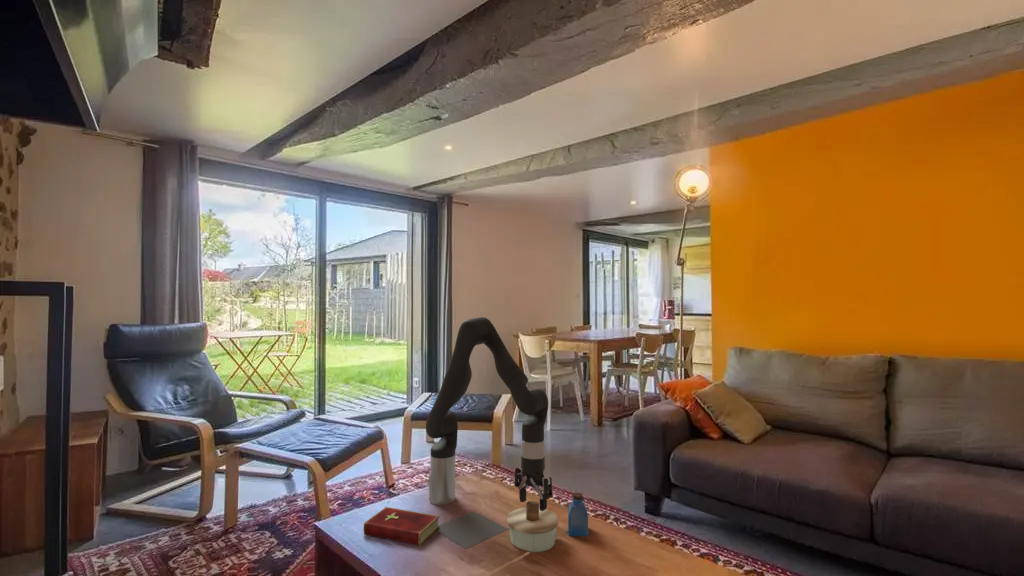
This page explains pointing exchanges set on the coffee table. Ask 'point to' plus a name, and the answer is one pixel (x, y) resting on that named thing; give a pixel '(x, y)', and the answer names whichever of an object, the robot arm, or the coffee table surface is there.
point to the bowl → (533, 540)
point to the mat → (470, 529)
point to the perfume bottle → (577, 517)
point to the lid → (532, 519)
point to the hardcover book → (402, 526)
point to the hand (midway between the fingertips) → (532, 505)
